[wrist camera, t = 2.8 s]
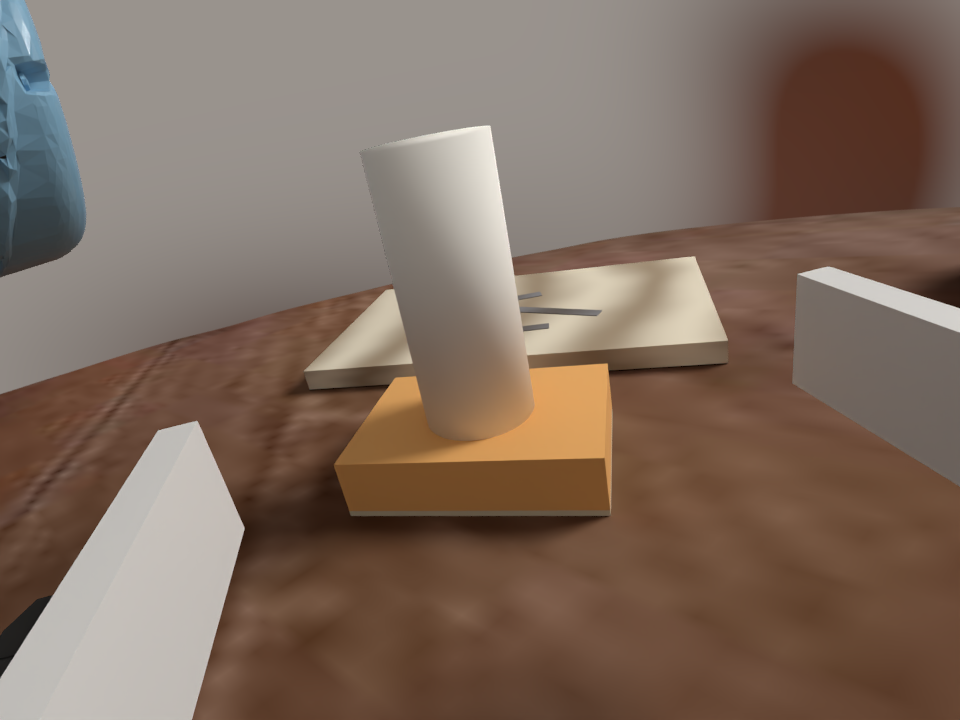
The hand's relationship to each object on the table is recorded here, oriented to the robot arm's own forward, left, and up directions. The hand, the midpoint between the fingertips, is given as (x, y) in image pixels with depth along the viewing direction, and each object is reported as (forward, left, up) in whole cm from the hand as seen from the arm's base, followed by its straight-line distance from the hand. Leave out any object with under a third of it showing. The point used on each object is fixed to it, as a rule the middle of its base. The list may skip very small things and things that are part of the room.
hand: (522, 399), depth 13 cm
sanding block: (-4, +9, -8) cm, 13 cm away
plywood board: (-5, +23, -8) cm, 25 cm away
